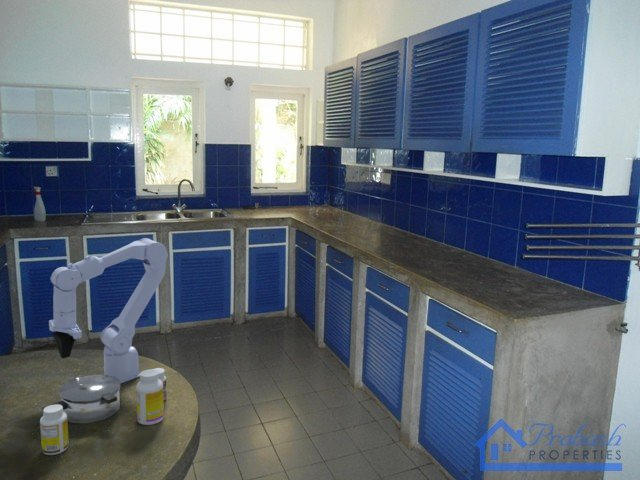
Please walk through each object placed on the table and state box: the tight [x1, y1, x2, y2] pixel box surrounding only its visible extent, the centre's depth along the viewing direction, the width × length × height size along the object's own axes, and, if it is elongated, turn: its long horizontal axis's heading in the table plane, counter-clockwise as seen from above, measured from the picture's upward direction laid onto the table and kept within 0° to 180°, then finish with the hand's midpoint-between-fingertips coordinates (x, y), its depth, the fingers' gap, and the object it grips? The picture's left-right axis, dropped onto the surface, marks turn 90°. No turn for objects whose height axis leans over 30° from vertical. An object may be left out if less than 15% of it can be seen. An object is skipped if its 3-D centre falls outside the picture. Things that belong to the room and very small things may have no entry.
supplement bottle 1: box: [39, 404, 70, 456], centre depth 117 cm, size 6×6×10 cm
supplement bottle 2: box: [135, 368, 165, 426], centre depth 131 cm, size 7×7×13 cm
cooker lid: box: [59, 374, 121, 404], centre depth 134 cm, size 15×18×1 cm
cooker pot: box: [41, 390, 121, 424], centre depth 134 cm, size 19×14×6 cm
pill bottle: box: [154, 367, 168, 401], centre depth 143 cm, size 5×5×8 cm
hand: (65, 356), depth 144 cm, fingers closed
